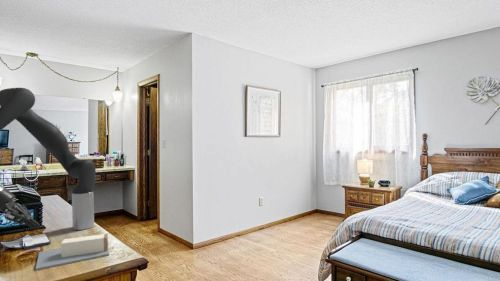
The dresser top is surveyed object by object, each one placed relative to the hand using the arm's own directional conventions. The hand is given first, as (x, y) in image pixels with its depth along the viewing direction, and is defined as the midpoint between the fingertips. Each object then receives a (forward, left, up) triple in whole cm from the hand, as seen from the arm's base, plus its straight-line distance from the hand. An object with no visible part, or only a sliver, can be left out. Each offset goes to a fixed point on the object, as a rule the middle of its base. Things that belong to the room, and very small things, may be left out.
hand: (37, 227), depth 105 cm
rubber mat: (+1, +11, -12) cm, 16 cm away
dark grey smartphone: (-24, -2, -13) cm, 27 cm away
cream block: (+1, +8, -9) cm, 12 cm away
